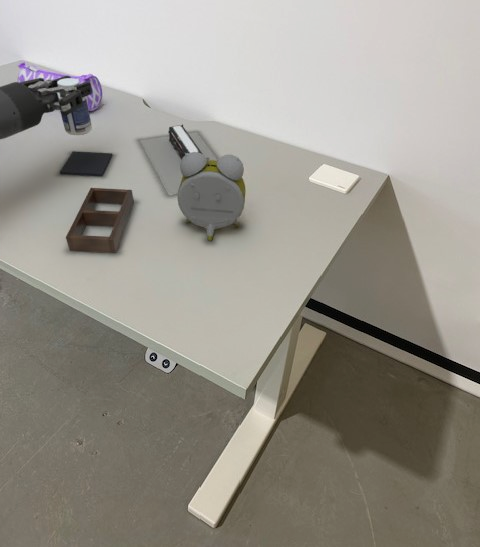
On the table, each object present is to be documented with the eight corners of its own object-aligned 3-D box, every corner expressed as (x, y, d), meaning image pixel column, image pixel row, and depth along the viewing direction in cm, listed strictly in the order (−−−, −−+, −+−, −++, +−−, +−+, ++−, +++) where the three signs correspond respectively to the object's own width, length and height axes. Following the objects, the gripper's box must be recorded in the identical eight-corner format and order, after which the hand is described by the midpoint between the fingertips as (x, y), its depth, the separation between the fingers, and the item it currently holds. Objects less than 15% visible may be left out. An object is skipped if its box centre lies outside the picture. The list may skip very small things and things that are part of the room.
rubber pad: (60, 174, 89) (59, 171, 89) (73, 153, 96) (72, 151, 95) (102, 176, 90) (102, 174, 89) (112, 155, 96) (112, 153, 96)
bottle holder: (69, 250, 72) (65, 237, 70) (93, 200, 83) (90, 187, 81) (116, 253, 72) (113, 239, 70) (133, 202, 83) (131, 189, 81)
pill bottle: (95, 125, 89) (86, 77, 82) (88, 136, 85) (77, 87, 78) (70, 124, 89) (58, 75, 82) (61, 135, 85) (48, 85, 78)
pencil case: (18, 103, 113) (6, 66, 107) (40, 91, 120) (30, 55, 113) (90, 117, 109) (82, 80, 103) (109, 104, 116) (102, 68, 109)
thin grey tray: (196, 132, 106) (196, 116, 103) (234, 183, 90) (235, 165, 87) (140, 140, 102) (137, 123, 99) (169, 195, 86) (167, 177, 83)
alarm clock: (243, 221, 80) (248, 149, 70) (241, 244, 76) (246, 170, 65) (183, 217, 81) (179, 144, 70) (177, 239, 76) (171, 165, 65)
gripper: (26, 100, 67) (103, 72, 78) (-31, 79, 72) (50, 56, 82) (39, 144, 72) (110, 112, 83) (-15, 122, 77) (59, 94, 88)
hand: (79, 84), depth 83 cm, fingers closed on pill bottle, 5 cm apart
